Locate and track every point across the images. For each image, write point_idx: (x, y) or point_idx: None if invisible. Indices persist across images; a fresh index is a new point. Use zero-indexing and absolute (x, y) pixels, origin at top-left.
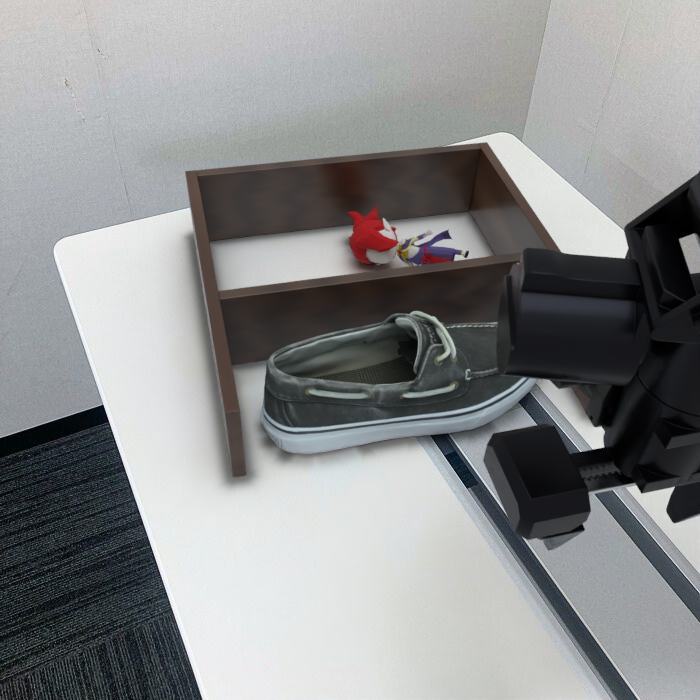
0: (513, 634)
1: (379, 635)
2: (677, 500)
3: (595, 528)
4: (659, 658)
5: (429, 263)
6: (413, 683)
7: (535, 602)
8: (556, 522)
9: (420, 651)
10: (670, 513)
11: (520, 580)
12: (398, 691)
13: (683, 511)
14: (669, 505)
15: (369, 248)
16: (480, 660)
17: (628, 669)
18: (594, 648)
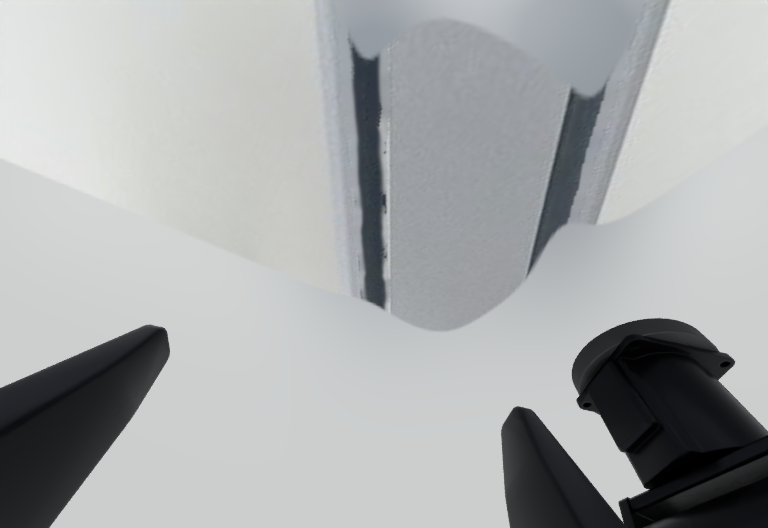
0: (290, 209)
1: (104, 129)
2: (533, 487)
3: (517, 120)
4: (442, 303)
5: None
6: (144, 205)
7: (342, 186)
8: None
9: (160, 175)
10: (511, 429)
11: (338, 146)
12: (124, 205)
13: (516, 502)
14: (523, 433)
15: None
16: (235, 218)
17: (400, 297)
18: (379, 265)
